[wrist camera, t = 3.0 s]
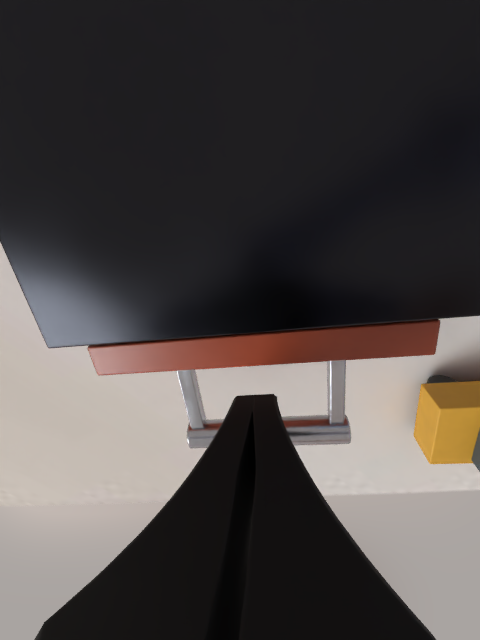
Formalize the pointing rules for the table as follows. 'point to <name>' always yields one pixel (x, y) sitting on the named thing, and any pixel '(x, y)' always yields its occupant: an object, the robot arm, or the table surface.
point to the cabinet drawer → (269, 351)
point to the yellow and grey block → (449, 421)
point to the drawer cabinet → (239, 164)
